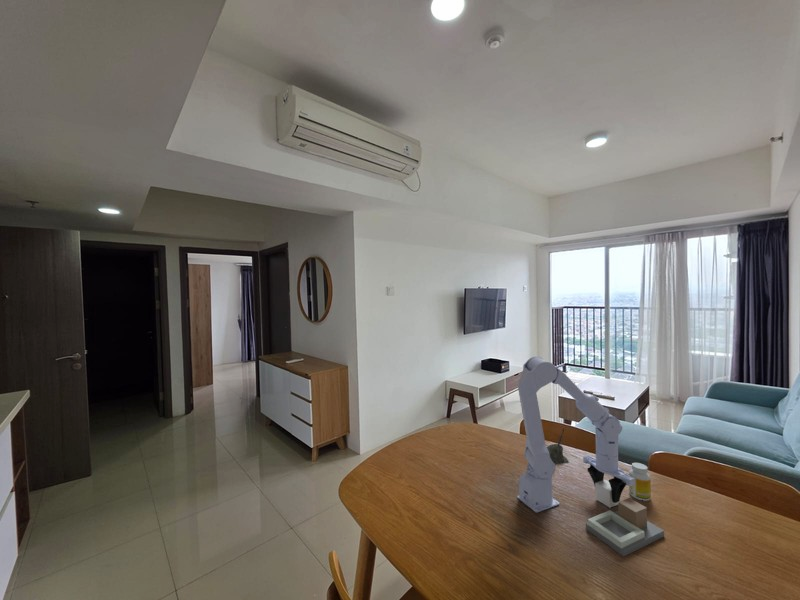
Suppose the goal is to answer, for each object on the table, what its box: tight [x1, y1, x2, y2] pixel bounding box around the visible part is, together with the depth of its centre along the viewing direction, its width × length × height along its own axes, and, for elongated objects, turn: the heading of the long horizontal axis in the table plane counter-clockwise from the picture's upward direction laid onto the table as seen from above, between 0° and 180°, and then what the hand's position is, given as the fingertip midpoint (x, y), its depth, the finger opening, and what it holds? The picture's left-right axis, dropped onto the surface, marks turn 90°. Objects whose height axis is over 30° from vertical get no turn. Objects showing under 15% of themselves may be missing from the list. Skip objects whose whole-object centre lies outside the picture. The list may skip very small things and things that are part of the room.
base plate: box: [585, 497, 665, 557], centre depth 84 cm, size 16×10×6 cm, turn 112°
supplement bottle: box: [628, 462, 652, 502], centre depth 99 cm, size 5×5×10 cm
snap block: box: [594, 479, 621, 509], centre depth 97 cm, size 4×4×5 cm
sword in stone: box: [546, 427, 570, 464], centre depth 123 cm, size 10×8×12 cm
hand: (607, 496), depth 97 cm, fingers closed on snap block, 4 cm apart
